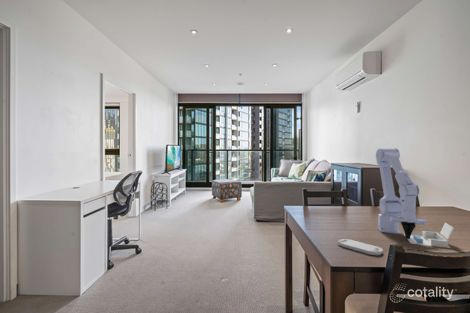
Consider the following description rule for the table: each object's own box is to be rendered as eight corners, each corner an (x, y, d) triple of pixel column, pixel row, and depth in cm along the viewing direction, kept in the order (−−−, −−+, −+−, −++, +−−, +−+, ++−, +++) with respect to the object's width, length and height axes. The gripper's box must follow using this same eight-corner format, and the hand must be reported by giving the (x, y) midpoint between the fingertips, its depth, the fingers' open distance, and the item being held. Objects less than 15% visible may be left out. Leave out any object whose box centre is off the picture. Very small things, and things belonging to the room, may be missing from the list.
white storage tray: (410, 244, 123) (411, 237, 123) (403, 235, 136) (403, 229, 136) (450, 248, 118) (451, 241, 118) (439, 238, 131) (439, 232, 131)
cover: (452, 227, 118) (454, 228, 118) (445, 222, 127) (446, 223, 127) (447, 239, 119) (449, 239, 119) (439, 233, 128) (441, 234, 127)
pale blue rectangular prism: (417, 242, 124) (417, 238, 124) (413, 238, 131) (413, 234, 131) (422, 243, 123) (422, 239, 123) (418, 238, 130) (418, 235, 130)
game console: (385, 247, 113) (377, 252, 108) (385, 253, 113) (377, 258, 108) (344, 236, 127) (335, 240, 121) (344, 242, 127) (335, 246, 121)
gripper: (392, 210, 127) (391, 238, 127) (429, 212, 122) (428, 242, 122) (389, 207, 133) (389, 234, 134) (424, 209, 128) (423, 238, 129)
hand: (407, 238), depth 128 cm, fingers closed
